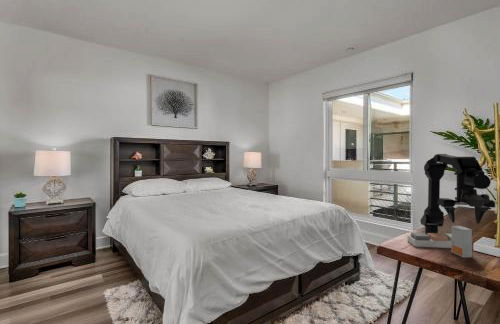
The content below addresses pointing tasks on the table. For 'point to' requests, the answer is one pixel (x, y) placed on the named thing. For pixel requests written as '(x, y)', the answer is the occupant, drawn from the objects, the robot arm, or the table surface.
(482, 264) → the table surface
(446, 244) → the light grey divided tray
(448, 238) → the sage key
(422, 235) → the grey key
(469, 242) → the skincare box
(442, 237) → the terracotta key
